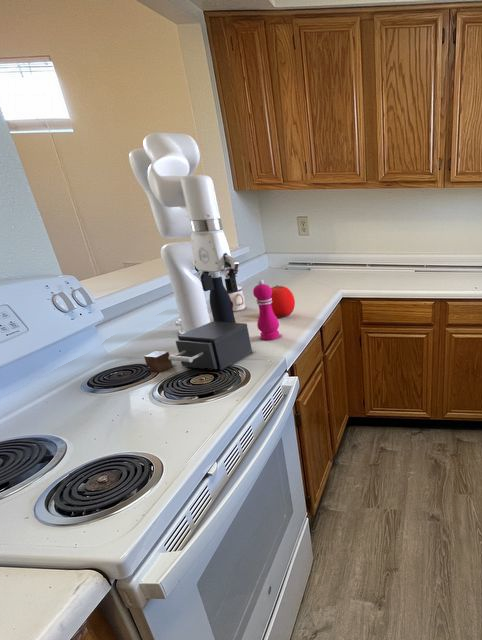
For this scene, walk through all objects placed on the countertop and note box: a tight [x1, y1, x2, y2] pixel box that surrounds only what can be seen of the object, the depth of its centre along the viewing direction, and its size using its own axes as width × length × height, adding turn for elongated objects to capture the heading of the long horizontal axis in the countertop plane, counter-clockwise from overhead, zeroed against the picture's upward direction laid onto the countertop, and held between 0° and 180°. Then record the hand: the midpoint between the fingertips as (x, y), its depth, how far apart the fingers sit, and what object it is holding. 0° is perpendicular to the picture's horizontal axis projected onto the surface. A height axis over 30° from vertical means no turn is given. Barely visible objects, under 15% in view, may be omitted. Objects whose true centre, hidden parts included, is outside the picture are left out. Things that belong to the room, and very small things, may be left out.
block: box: [143, 350, 173, 373], centre depth 121 cm, size 4×4×4 cm
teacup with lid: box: [224, 285, 246, 312], centre depth 179 cm, size 12×9×12 cm
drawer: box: [168, 339, 218, 371], centre depth 121 cm, size 19×11×8 cm, turn 163°
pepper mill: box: [252, 279, 280, 341], centre depth 141 cm, size 7×7×20 cm
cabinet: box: [177, 320, 253, 372], centre depth 125 cm, size 15×13×10 cm
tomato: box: [270, 284, 296, 318], centre depth 167 cm, size 12×12×13 cm
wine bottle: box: [209, 271, 236, 323], centre depth 134 cm, size 6×6×30 cm
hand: (220, 291), depth 116 cm, fingers open, 9 cm apart
